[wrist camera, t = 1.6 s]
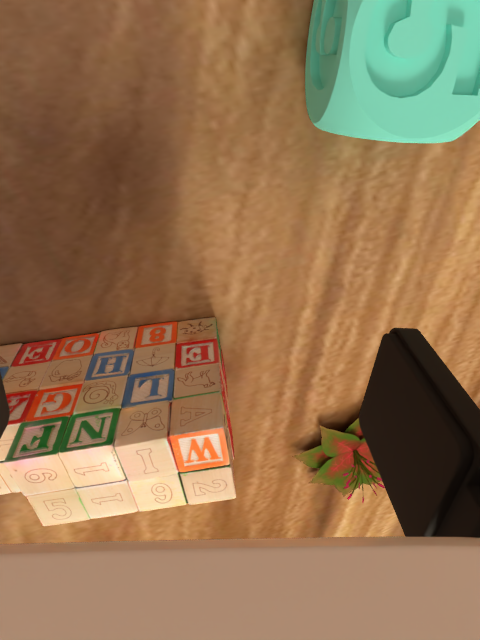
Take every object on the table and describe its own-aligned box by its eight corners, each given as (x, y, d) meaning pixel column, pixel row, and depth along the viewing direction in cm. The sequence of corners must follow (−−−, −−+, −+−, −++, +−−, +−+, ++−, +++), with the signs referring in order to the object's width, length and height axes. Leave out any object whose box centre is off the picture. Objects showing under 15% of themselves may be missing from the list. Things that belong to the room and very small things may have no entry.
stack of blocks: (-22, 410, 38) (-106, 549, 27) (-56, 351, 35) (-166, 484, 24) (227, 376, 38) (238, 502, 28) (217, 314, 35) (225, 430, 24)
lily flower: (435, 448, 45) (457, 487, 41) (338, 504, 48) (350, 544, 45) (372, 383, 40) (390, 420, 36) (269, 451, 43) (275, 491, 39)
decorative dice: (421, 122, 28) (491, 146, 22) (298, 116, 28) (330, 140, 21) (460, -37, 24) (562, -69, 17) (316, -49, 23) (364, -87, 17)
